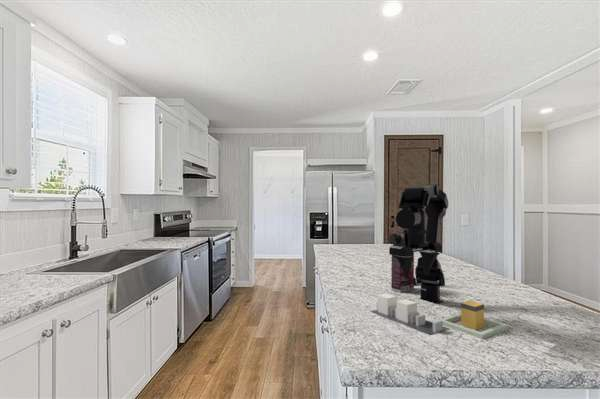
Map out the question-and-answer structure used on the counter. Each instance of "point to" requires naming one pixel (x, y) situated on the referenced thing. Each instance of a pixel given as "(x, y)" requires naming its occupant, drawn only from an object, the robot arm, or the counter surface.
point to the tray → (481, 335)
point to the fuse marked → (472, 315)
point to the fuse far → (386, 303)
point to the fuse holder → (415, 321)
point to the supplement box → (401, 277)
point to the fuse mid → (405, 309)
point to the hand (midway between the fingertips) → (416, 275)
